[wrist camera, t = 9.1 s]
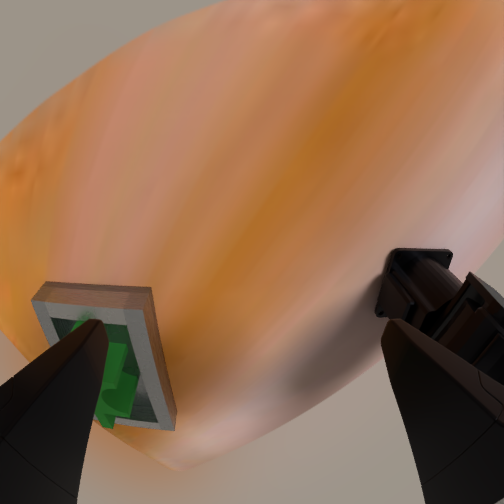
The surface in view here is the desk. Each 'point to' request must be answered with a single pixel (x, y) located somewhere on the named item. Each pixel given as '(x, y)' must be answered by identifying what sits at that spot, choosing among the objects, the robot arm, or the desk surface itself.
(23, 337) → the desk surface
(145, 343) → the gray rectangular tray
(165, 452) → the desk surface
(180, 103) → the desk surface
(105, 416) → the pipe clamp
